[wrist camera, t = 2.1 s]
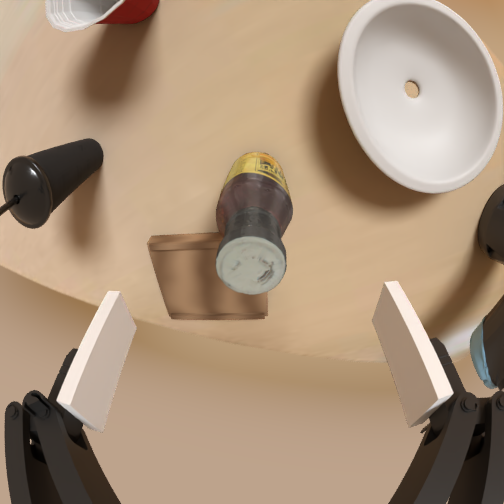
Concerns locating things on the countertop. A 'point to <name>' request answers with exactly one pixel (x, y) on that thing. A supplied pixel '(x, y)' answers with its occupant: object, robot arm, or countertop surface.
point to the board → (199, 280)
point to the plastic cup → (96, 12)
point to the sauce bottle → (253, 225)
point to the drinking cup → (47, 179)
